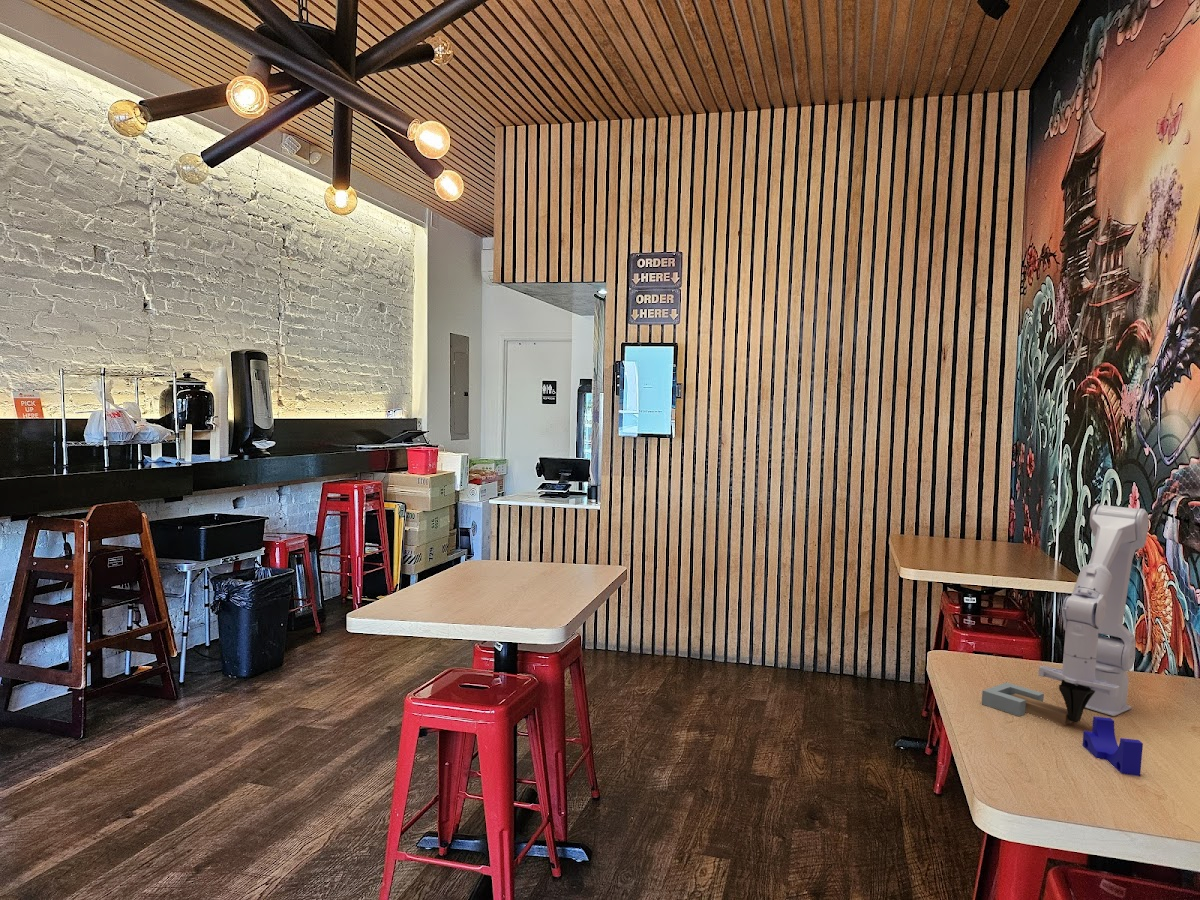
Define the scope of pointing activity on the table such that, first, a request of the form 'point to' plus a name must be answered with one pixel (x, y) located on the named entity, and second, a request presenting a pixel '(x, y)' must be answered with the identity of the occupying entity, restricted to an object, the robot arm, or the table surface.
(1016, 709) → the end cap
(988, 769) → the table surface
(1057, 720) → the slat
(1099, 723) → the cable clip
